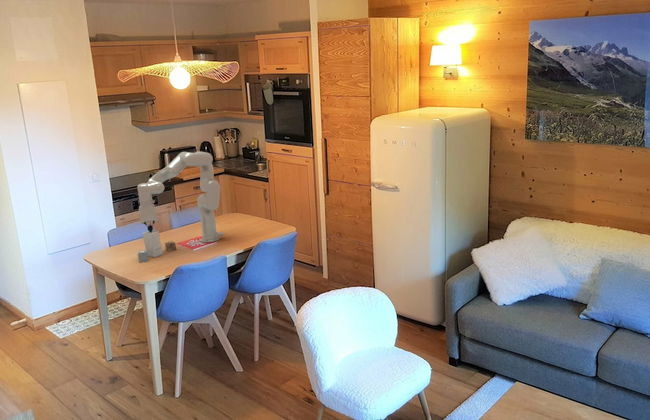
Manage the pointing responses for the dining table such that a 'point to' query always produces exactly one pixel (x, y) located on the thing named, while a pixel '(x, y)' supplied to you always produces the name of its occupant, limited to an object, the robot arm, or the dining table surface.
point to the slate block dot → (143, 256)
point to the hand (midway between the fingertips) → (150, 231)
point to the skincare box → (152, 243)
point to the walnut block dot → (170, 246)
